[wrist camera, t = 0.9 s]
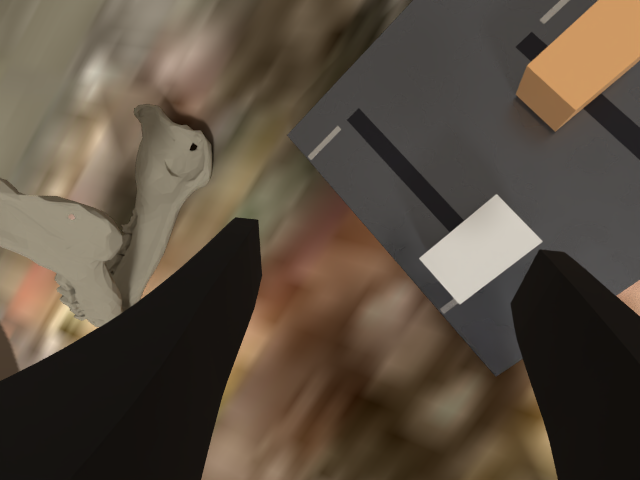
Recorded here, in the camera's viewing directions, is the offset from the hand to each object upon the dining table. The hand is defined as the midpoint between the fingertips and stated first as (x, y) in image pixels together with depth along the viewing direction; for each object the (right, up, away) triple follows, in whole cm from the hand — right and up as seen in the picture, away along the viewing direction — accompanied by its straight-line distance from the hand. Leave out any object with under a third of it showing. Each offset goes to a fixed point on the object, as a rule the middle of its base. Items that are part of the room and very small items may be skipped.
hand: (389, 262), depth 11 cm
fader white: (+6, 0, +9) cm, 11 cm away
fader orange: (+9, +8, +7) cm, 14 cm away
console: (+7, +5, +10) cm, 13 cm away
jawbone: (-13, +1, +18) cm, 22 cm away
